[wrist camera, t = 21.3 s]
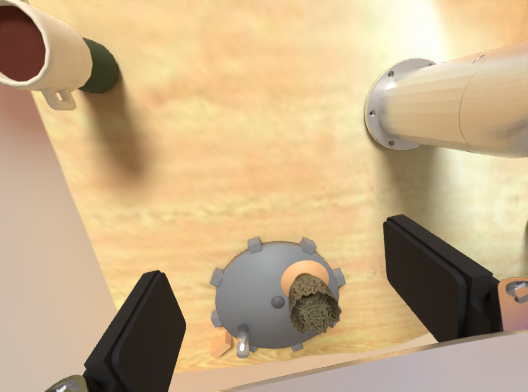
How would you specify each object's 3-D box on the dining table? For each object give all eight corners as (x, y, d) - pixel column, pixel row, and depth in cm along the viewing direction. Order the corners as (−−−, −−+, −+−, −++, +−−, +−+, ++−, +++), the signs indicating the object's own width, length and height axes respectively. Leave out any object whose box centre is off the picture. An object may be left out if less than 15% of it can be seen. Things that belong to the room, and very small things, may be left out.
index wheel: (283, 210, 41) (290, 228, 34) (363, 293, 47) (383, 323, 41) (184, 294, 45) (173, 326, 38) (271, 360, 51) (275, 397, 45)
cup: (328, 291, 44) (345, 328, 36) (288, 302, 44) (296, 341, 36) (320, 256, 41) (336, 288, 34) (277, 267, 41) (284, 302, 34)
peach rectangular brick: (225, 331, 48) (224, 342, 46) (231, 335, 49) (231, 346, 46) (212, 343, 49) (210, 354, 47) (218, 347, 49) (216, 358, 47)
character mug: (48, 28, 31) (-82, -27, 19) (102, 14, 31) (8, -51, 19) (88, 117, 35) (1, 119, 22) (137, 104, 34) (77, 100, 22)
